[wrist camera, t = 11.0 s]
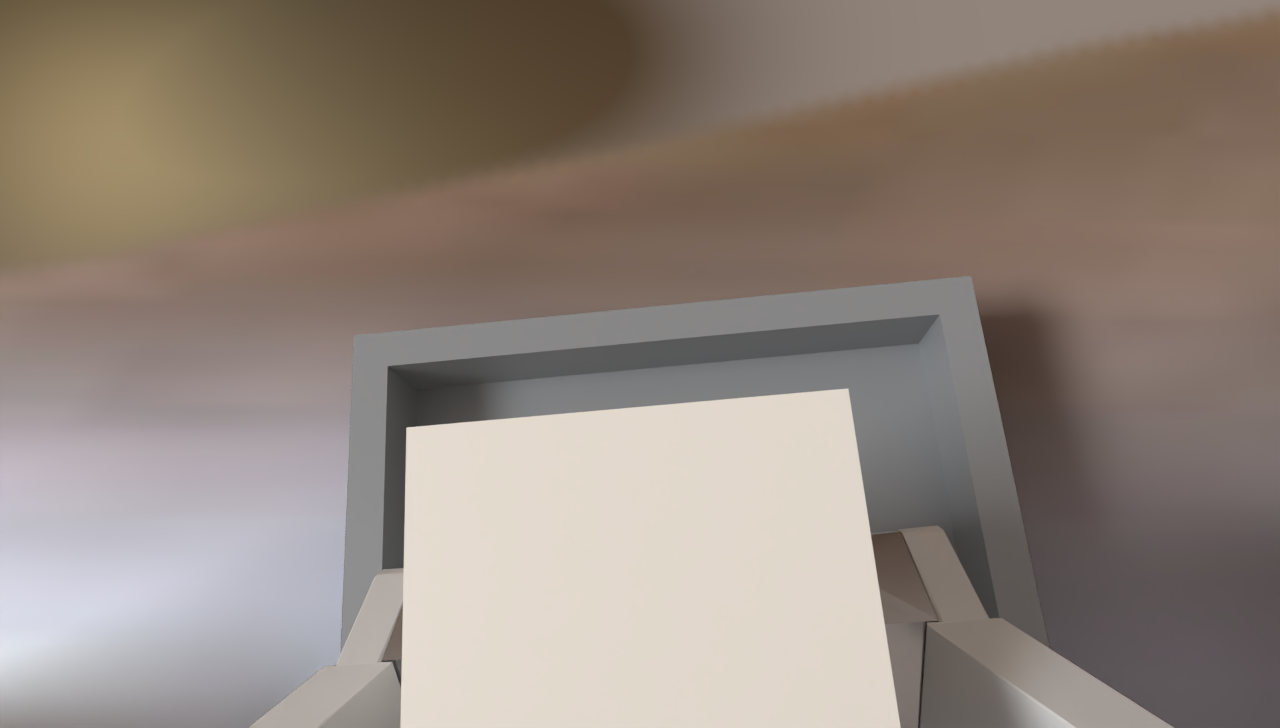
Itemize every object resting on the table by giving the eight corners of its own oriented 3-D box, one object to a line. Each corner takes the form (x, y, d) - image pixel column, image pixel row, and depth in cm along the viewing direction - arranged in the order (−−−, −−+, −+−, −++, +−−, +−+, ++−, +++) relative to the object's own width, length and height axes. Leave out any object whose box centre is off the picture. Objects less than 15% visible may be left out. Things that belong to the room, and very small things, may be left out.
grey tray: (940, 317, 20) (971, 275, 18) (1069, 976, 16) (1132, 1038, 13) (394, 368, 21) (353, 335, 18) (379, 1008, 17) (323, 1072, 14)
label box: (772, 520, 17) (853, 382, 7) (798, 739, 15) (936, 919, 6) (573, 537, 17) (400, 422, 8) (583, 753, 16) (390, 946, 6)
